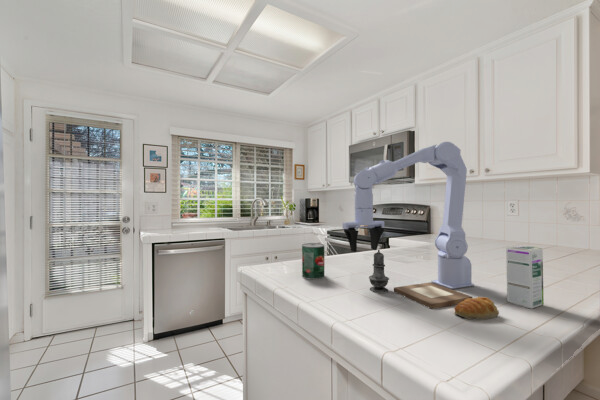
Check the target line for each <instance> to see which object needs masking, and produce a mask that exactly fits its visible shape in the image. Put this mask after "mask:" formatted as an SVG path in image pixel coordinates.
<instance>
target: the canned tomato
mask: <svg viewBox="0 0 600 400" xmlns="http://www.w3.org/2000/svg"><path fill="white" fill-rule="evenodd" d="M301 257H302V259H301V270H302V271H301V276H302V278H303V279H306V280H321V279H323V278H325V268H326V267H325V243H320V242H319V243H318V242H317V243H316V242H309V243H303V244H302V245H301Z"/></svg>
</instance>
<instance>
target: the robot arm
mask: <svg viewBox="0 0 600 400" xmlns="http://www.w3.org/2000/svg"><path fill="white" fill-rule="evenodd" d="M418 163H423V164H427V163H428V164H429V165H430V166H432V167H435V168H437V169H439V170H440V171H441V172H443V174H445V175H446V183H445V186H446V187H445V194H444V206H443V216H442V224H441V226H440V228H439V229H438V235H437V236H436V238H435V239H434V245H435V247H436V249H437V250H438V252H437V279H433V280H431V282H432V283H434V284H437V285H440V286H443V287H446V288H449V289H452V290H454V289H461V288H466V287H473V286H475V284H474V283H472V281H473V280H472V279H473V278H472V274H473V273H472V263H471V260H470V258H468V257H467V256H465V254H466V253H467V251H468V247H469V246H468V243H467V240H466V231H464V229H463V226H462V225H463V215H464V214H463V213H464V207H465V206H464V203H465V196H466V195H465V193H466V192H465V191H466V184H467V172H468V170H467V166H466V164H465V162H464V160H463V157H462V155H461V149H460V148H459V147H458V146H457V145H455V144H454V143H453V142H451V141H443V142H441V143H439V144H438V145H437V144H433V145H430V146H427V147H424V148H421V149H418V150H417V151H415V152H413V153H412V152H411V153H410V154H409V155H408V154H407V155H406V156H403V157H402V158H400V159H397V160H395V161H392V160H389V159H386V160H385V159H382V160H380V161H379V163H377V164H375V165H373V166H367V167H365V169H362V170H361V171H359V172H358V173H356V175H354V177H353V180H352V181H353V185H354V187H355V188H354V192H355V193H354V221H348V222H345V221H344V222H342V230H343V232H344V233H345V236H346V237H347V241H348V243H349V247H350V251H351V252H353V253H356V252H357V249H358V248H357V246H358V235H359V230H357V229H368V231H369V236H370V237H369V238H370V249H371V250H373V251H378V246H379V242H380V239H381V237H382V235H383V233H384V232H385V221H382V220H375V221H374V216H373V215H374V193H373V186H374V185H377V184H381V183H382V182H385V181H387V180H390V179H392V178H394V177H395V176H396V174H397V173H398V171H400V170H403V169H404V168H408V167H410V166H413V165H415V164H418Z"/></svg>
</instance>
